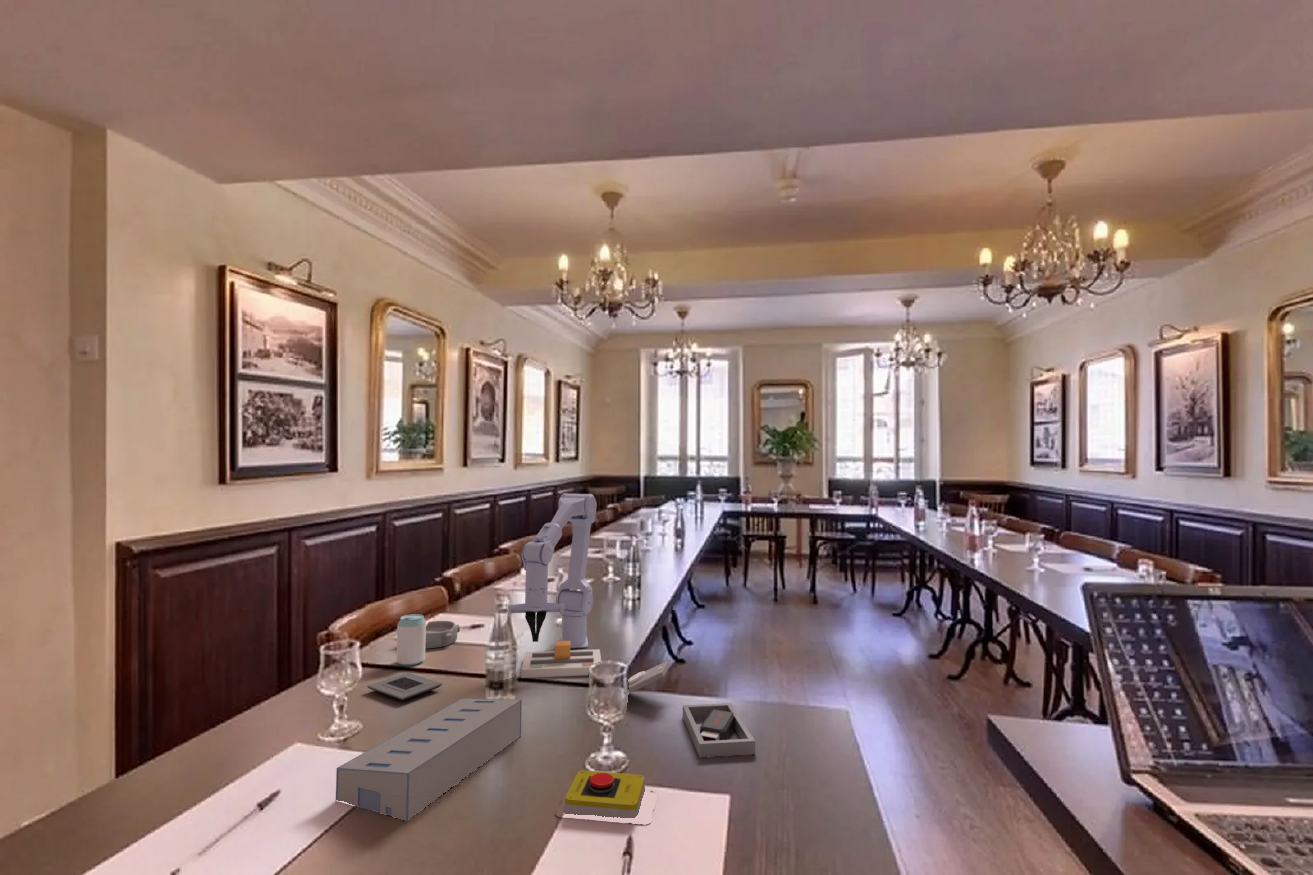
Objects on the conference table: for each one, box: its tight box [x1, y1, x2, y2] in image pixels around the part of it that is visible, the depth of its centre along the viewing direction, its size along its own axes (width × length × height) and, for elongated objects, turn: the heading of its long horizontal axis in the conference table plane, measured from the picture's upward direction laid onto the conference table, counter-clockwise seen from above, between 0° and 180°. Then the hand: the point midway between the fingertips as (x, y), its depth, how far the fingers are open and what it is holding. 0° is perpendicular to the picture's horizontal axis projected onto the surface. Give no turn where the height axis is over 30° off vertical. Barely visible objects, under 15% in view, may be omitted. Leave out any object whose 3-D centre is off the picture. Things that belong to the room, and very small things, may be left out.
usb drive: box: [699, 710, 735, 741], centre depth 120 cm, size 5×12×3 cm, turn 159°
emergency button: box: [564, 769, 646, 818], centre depth 95 cm, size 9×4×15 cm
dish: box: [425, 620, 461, 649], centre depth 178 cm, size 14×14×5 cm
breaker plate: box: [520, 648, 602, 679], centre depth 158 cm, size 14×20×3 cm
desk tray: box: [682, 702, 756, 759], centre depth 120 cm, size 18×10×2 cm, turn 8°
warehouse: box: [335, 698, 523, 823], centre depth 107 cm, size 30×14×8 cm, turn 159°
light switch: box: [627, 660, 671, 700], centre depth 138 cm, size 8×6×14 cm
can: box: [396, 613, 427, 667], centre depth 161 cm, size 7×7×12 cm
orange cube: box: [554, 640, 571, 659], centre depth 158 cm, size 4×4×4 cm
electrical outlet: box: [366, 672, 443, 701], centre depth 140 cm, size 13×10×2 cm
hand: (535, 640), depth 157 cm, fingers closed
